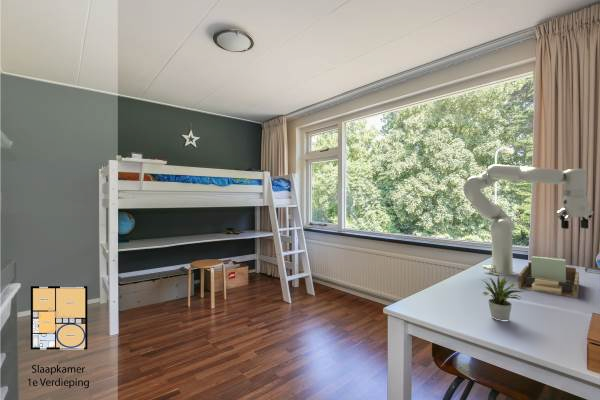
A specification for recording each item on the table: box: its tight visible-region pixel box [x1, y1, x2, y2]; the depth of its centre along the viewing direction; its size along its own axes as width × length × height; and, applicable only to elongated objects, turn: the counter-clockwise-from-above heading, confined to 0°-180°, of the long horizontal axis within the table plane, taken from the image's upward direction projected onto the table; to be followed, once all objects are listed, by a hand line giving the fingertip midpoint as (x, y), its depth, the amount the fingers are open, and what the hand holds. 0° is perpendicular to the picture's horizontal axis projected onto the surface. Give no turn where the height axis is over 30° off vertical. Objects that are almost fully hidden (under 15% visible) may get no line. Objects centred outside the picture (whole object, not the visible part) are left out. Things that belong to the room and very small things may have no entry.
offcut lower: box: [532, 282, 562, 296], centre depth 127 cm, size 6×10×2 cm, turn 44°
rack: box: [517, 261, 580, 299], centre depth 134 cm, size 25×20×9 cm
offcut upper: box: [535, 278, 559, 289], centre depth 127 cm, size 4×8×2 cm, turn 44°
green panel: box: [530, 255, 567, 283], centre depth 132 cm, size 3×12×14 cm, turn 44°
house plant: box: [481, 275, 523, 321], centre depth 102 cm, size 14×14×16 cm
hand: (574, 228), depth 138 cm, fingers open, 9 cm apart
